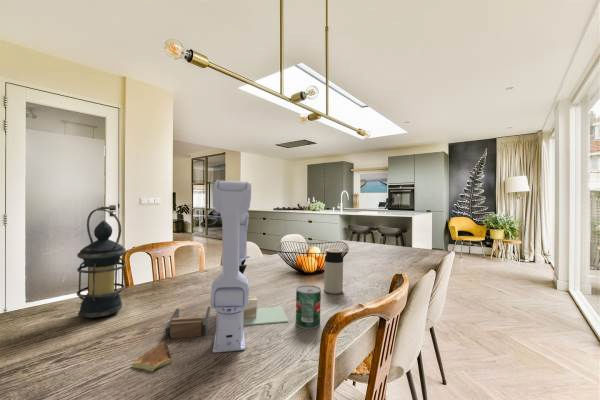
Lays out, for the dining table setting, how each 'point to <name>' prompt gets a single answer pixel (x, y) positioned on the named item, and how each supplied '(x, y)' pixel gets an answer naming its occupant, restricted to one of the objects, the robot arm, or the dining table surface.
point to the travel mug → (333, 271)
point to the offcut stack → (186, 326)
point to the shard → (154, 358)
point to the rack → (176, 315)
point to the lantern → (101, 272)
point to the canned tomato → (308, 306)
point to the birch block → (251, 308)
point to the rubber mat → (267, 316)
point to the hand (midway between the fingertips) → (237, 281)
